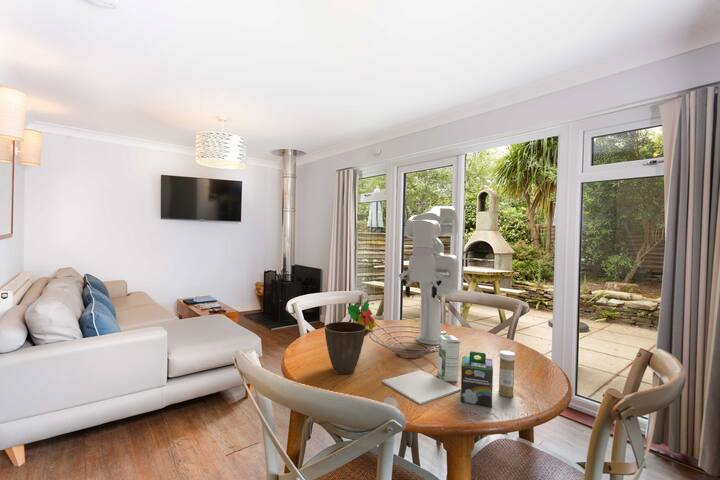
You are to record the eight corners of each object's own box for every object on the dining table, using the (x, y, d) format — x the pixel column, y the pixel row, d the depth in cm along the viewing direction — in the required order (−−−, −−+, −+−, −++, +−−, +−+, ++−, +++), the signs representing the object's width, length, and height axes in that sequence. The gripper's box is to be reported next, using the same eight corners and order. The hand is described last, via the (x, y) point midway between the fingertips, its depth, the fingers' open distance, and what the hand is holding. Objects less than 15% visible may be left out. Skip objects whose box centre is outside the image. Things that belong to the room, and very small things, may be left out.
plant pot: (315, 367, 127) (316, 324, 127) (348, 360, 137) (349, 319, 136) (338, 382, 116) (339, 334, 115) (372, 372, 125) (374, 328, 124)
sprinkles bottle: (514, 393, 112) (516, 351, 112) (512, 398, 108) (513, 355, 108) (499, 389, 114) (501, 348, 114) (496, 394, 111) (498, 352, 110)
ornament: (360, 338, 165) (362, 307, 165) (346, 335, 170) (347, 304, 169) (380, 328, 183) (381, 300, 183) (366, 326, 187) (367, 298, 187)
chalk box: (491, 395, 110) (493, 348, 110) (492, 408, 102) (494, 358, 101) (461, 389, 113) (463, 344, 113) (459, 402, 105) (461, 353, 104)
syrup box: (436, 375, 125) (438, 334, 124) (452, 374, 125) (454, 334, 125) (441, 381, 119) (443, 339, 119) (458, 381, 120) (460, 339, 119)
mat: (421, 371, 127) (421, 370, 127) (460, 390, 112) (460, 389, 112) (382, 382, 117) (382, 380, 117) (420, 404, 102) (420, 402, 102)
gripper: (442, 252, 136) (440, 296, 136) (398, 251, 136) (396, 294, 136) (447, 253, 129) (445, 299, 129) (401, 252, 128) (399, 298, 129)
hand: (420, 297), depth 133 cm, fingers open, 9 cm apart
